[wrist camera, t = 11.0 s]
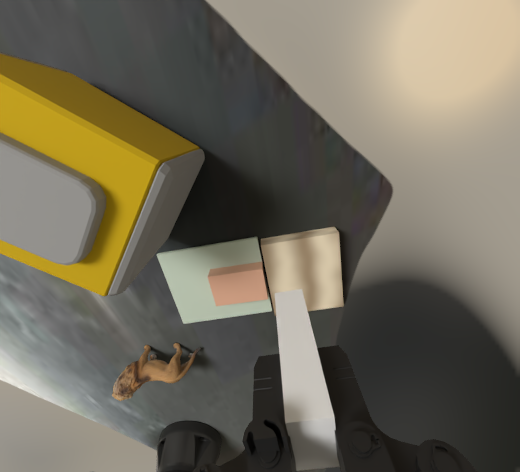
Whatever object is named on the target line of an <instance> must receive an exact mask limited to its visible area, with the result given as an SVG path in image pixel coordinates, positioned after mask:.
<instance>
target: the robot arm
mask: <svg viewBox="0 0 520 472" xmlns="http://www.w3.org/2000/svg"><path fill="white" fill-rule="evenodd" d="M275 305H276V317H277V329H278V341H279V353H280V354H274V355H267V356H259V358H258V360H257V362H256V364H255V367H254V392H253V421H252V422H251V423H249V425H248V427H247V428H246V430H245V432H244V437H243V444H244V447H245V450H244V451H243V452H242V453H241V454H240V455H239V456H238V457H236V458H235V459H233V460H231V461H229V462H227V463H225V464H223V465H222V466H220V467H218V466H216V465H215V464H216V462H217V459H218V457H219V454H220V448H221V437H220V435H219V434H218V432H217V431H216V430H215V429H213V428H212V427H210V426H208V425H206V424H203V423H199V422H193V421H182V422H177V423H173V424H171V425H169V426H167V427H166V428H165V429H164V430H163V431H162V433H161V436H160V439H159V442H158V447H157V469H156V472H296V471H299V470H310V469H320V468H329V467H340V470H341V472H477V471H476V469H475V468H474V467H473V466H472V465H471V464H470V462H469V461H468V460H467V459H466V458H465V457H464V456H463V455H462V454H461V453H460V452H459V451H458V450H457V449H456V448H454V447H452V446H451V445H449V444H447V443H445V442H443V441H439V440H434V439H433V440H427V441H424V442H423V443H422V444H421V445H420V446H417V445H412V444H409V443H405V442H401V441H398V440H395V439H392V438H390V437H389V436H387V435H385V434H384V433H383V432H382V431H380V430H379V429H378V428H377V426H376V425H375V424H374V422H373V421H372V419H371V417H370V414H369V412H368V409H367V406H366V404H365V401H364V399H363V396H362V393H361V391H360V388H359V386H358V383H357V380H356V378H355V375H354V372H353V369H352V367H351V364H350V362H349V359H348V356H347V354H346V353H345V352H344V351H343V350H342V349H341V348H340V347H339V346H330V347H322V348H317V347H316V343H315V339H314V335H313V331H312V327H311V323H310V319H309V315H308V311H307V307H306V303H305V299H304V295H303V291H302V289H298V290H292V291H285V292H278V293H275Z"/></svg>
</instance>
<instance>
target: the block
mask: <svg viewBox="0 0 520 472" xmlns="http://www.w3.org/2000/svg"><path fill="white" fill-rule="evenodd" d="M208 280H209V284H210V287H211V291H212V294H213V297H214V301H215V304H216V306H223V305H230V304H237V303H245V302H252V301H259V300H267V299H268V289H267V284H266V279H265V273H264V268H263V263H262V262H256V263H249V264H242V265H235V266H228V267H222V268H215V269H210V271H209V274H208Z"/></svg>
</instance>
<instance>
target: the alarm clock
mask: <svg viewBox="0 0 520 472" xmlns="http://www.w3.org/2000/svg"><path fill="white" fill-rule="evenodd" d="M204 160H205V155H204V152H203V150H202V149H200V148H199V147H198V146H197V145H195V144H193V143H191V142H190V141H188V140H186V139H184V138H183V137H181V136H179V135H177V134H176V133H174V132H172V131H170V130H169V129H167V128H165V127H163V126H162V125H160V124H158V123H157V122H155V121H153V120H151V119H150V118H148V117H146V116H144V115H143V114H141V113H139V112H137V111H136V110H134V109H132V108H130V107H129V106H127V105H125V104H123V103H122V102H120V101H118V100H117V99H115V98H113V97H111V96H110V95H108V94H106V93H104V92H103V91H101V90H99V89H97V88H96V87H94V86H92V85H90V84H89V83H87V82H85V81H83V80H82V79H80V78H78V77H77V76H75V75H73V74H71V73H68V72H67V71H64V70H61V69H57V68H54V67H51V66H47V65H44V64H41V63H37V62H34V61H30V60H27V59H23V58H19V57H16V56H12V55H9V54H5V53H2V52H0V253H1V254H3V255H6V256H8V257H10V258H13V259H15V260H18V261H20V262H23V263H25V264H27V265H30V266H32V267H35V268H37V269H39V270H42V271H44V272H47V273H49V274H51V275H54V276H56V277H59V278H61V279H64V280H66V281H68V282H71V283H73V284H76V285H78V286H80V287H83V288H85V289H88V290H90V291H93V292H95V293H97V294H100V295H102V296H107V295H108V294H109V295H110V296H111V295H118V294H120V293H122V292H123V291H125V290H126V289H127V287H128V286H129V285H130V284H131V283H132V281H133V280H134V279H135V278H136V276H137V275H138V274H139V273H140V272H141V270H142V269H143V268H144V267H145V266H146V264H147V263H148V262H149V261H150V259H151V258H152V257H153V256H154V255H155V253H156V252H157V251H158V250H159V249H160V247H161V246H162V245H163V244H164V243H165V241H166V240H167V239H168V237H169V235H170V233H171V231H172V229H173V227H174V224H175V222H176V220H177V218H178V216H179V214H180V212H181V209H182V207H183V205H184V203H185V201H186V199H187V197H188V194H189V192H190V190H191V188H192V186H193V184H194V181H195V179H196V177H197V175H198V173H199V171H200V169H201V166H202V164H203V162H204Z"/></svg>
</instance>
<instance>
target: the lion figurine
mask: <svg viewBox="0 0 520 472" xmlns="http://www.w3.org/2000/svg"><path fill="white" fill-rule="evenodd" d="M174 348H176V349H177V353H176V354H175V355H174V356H173V358H172V359H171V360H170V363H169V364H168V363H166V362H165V361H162V360H156V358H157V356H156V355H155V354H152V355H151V356H150V361H148V354H149V353H150V351H151V350H150V346H149V345H145V346H144V349H145V352H144V353H143V354H142V355H141V357H140V359H139V361H136V362H132V363H131V364H130V365H128V366H127V367H126V369H125V370H124V371H123V372H122V373H121V374H120V376H119V377H118V379H117V381H116V382H115V384H114V387H113V394H112V396H113V397H114V398H115V399H117V400H119V401H122V400H124V399H129V398H131V397H132V396H133V393H134V392H135V391H136V390H137V389H139V388H140V387H141V385H142V384H144V383H145V382H147V381H155V380H159V381H164V382H167V383H175V382H177V381H179V380H180V379H181V378H182V377H183V376H184V375H185V374H186V372H187V371H188V369H189V368H190V366H191V365H192V363H193V361H194V359H195V355H196V353H197V352H198V351H199V350H200V349H201V348H197V349H196V350H195V352H194V353H190V354H189V356H188V357H189V358H191V359H190V360H189V361H188V362H186V363H184V364H182V365H181V364H180V356H181V354H182V349H181V346H180V344H179V343H174Z"/></svg>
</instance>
